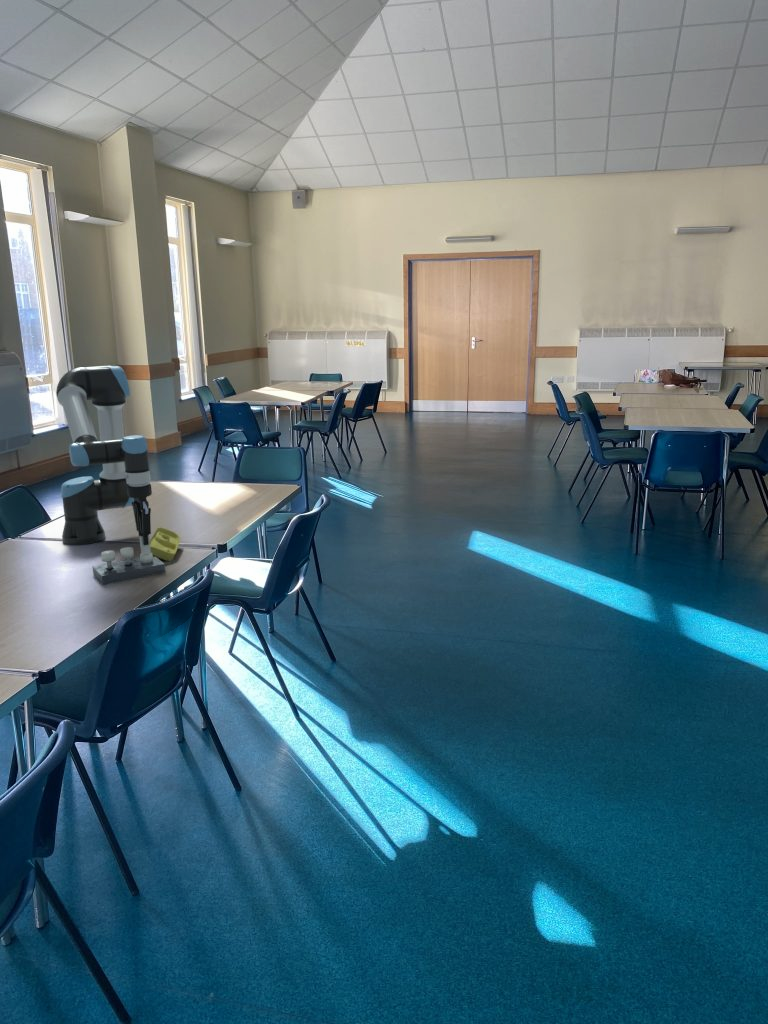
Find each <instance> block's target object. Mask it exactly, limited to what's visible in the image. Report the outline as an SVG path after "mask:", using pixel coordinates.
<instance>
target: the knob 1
mask: <svg viewBox="0 0 768 1024" xmlns="http://www.w3.org/2000/svg"><path fill="white" fill-rule="evenodd" d="M100 554H101V561H102V562H104V563H107V569H111V568H112V564H111V563H112V562H115V560H116V554H115V550H105V551H102V552H101V553H100Z"/></svg>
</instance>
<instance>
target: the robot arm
mask: <svg viewBox="0 0 768 1024" xmlns="http://www.w3.org/2000/svg"><path fill="white" fill-rule="evenodd" d="M55 391H56V392H55V393H56V398H57V402H58V404H59V405H60V406H61V407H62V408H63V411H64V412H63V413H64V415H65V418H66V423H67V425H68V430H69V433H70V437H71V440H72V443H70V444H69V445H68V452H69V458H70V463H71V465H72V466H73V467H90V466H96V465H97V466H98V465H102V471H101V472H99V477H98V478H99V479H94V477H93V476H90V475H87V476H80V477H75V478H72V479H68V480H66V481H65V482H63V483H62V484H61V489H60V492H61V495H60V497H61V498H62V506H63V515H64V526H63V530H62V535H61V537H62V539H61V540H62V543H63V544H65V545H69V546H78V545H79V546H81V545H88V544H89V545H90V544H94V543H96V542H97V543H98V542H100V541H102V540H104V539H105V538H106V531H105V530H104V527H103V525H102V523H101V521H100V519H99V514H98V511H105V510H106V511H107V510H113V509H114V510H115V509H121V508H122V509H124V508H127V507H132V510H133V516H134V522H135V527H136V532H138V537H139V546H140V554H142V555H144V554H150V553H151V551H150V535H151V534H152V532H151V531H152V530H151V525H152V524H151V511H152V509H151V507H149V506H150V505H149V504H150V503H149V501H148V500H147V497H150V496H152V495H153V491H152V484H151V482H152V479H151V470H150V461H149V452H148V448H149V446H148V443H147V438H146V436H144V435H139V434H138V435H128V436H127V435H126V436H125V431H124V418H123V407H124V406H125V405H126V402H127V401H126V399H128V398H130V396H131V394H130V393H131V392H130V385H129V381H128V378H127V374H126V372H125V371H124V369H123V368H122V366H119V365H99V366H86V367H85V366H84V367H83V366H82V367H81V366H80V367H79V366H78V367H75V368H72V369H70V370H68V371H67V372H66V373H64V374H63V376H62V377H61V378H60V379H59V381H58V384H57V385H56V390H55ZM87 401H91V404H92V406H94V407H95V408H96V411H97V421H98V431H99V440H98V437H97V434H96V430H95V427H94V424H93V421H92V418H91V415H90V411H89V408H88V404H87Z"/></svg>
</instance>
